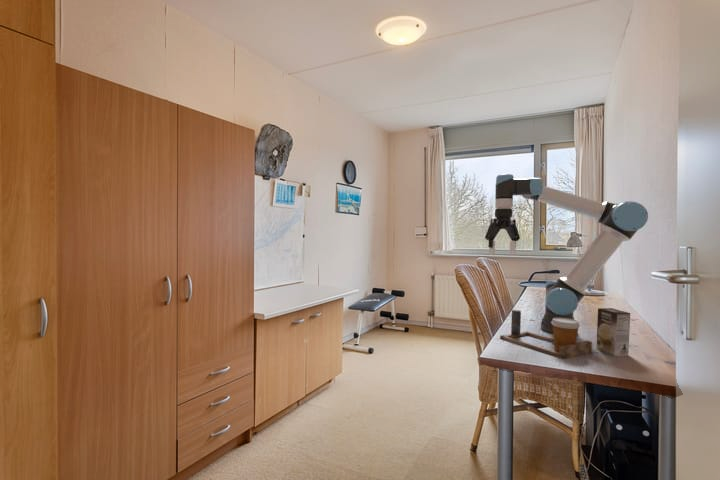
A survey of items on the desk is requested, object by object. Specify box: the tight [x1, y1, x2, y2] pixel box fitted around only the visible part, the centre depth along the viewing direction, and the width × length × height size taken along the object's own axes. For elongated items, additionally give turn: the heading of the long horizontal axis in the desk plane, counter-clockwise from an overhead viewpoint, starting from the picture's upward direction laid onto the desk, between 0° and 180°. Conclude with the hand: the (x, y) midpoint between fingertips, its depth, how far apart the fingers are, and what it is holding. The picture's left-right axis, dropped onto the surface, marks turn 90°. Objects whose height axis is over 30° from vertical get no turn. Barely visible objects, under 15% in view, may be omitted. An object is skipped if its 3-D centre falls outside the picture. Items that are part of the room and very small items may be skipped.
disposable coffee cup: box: [551, 318, 581, 352], centre depth 142 cm, size 10×10×12 cm
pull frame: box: [499, 309, 593, 360], centre depth 150 cm, size 17×29×11 cm, turn 28°
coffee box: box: [596, 307, 631, 357], centre depth 143 cm, size 9×6×16 cm
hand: (502, 254), depth 171 cm, fingers open, 13 cm apart
